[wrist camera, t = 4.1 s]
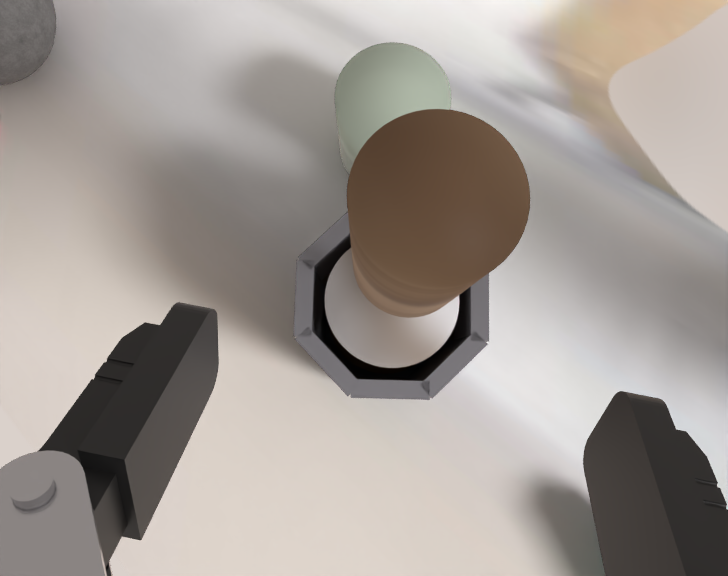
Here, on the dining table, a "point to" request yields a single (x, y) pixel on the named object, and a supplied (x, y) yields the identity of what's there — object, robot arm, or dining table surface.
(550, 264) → the dining table surface
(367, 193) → the plunger
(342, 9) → the dining table surface
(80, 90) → the dining table surface
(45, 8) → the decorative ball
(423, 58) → the sage green cylinder
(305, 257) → the coffee press pot
